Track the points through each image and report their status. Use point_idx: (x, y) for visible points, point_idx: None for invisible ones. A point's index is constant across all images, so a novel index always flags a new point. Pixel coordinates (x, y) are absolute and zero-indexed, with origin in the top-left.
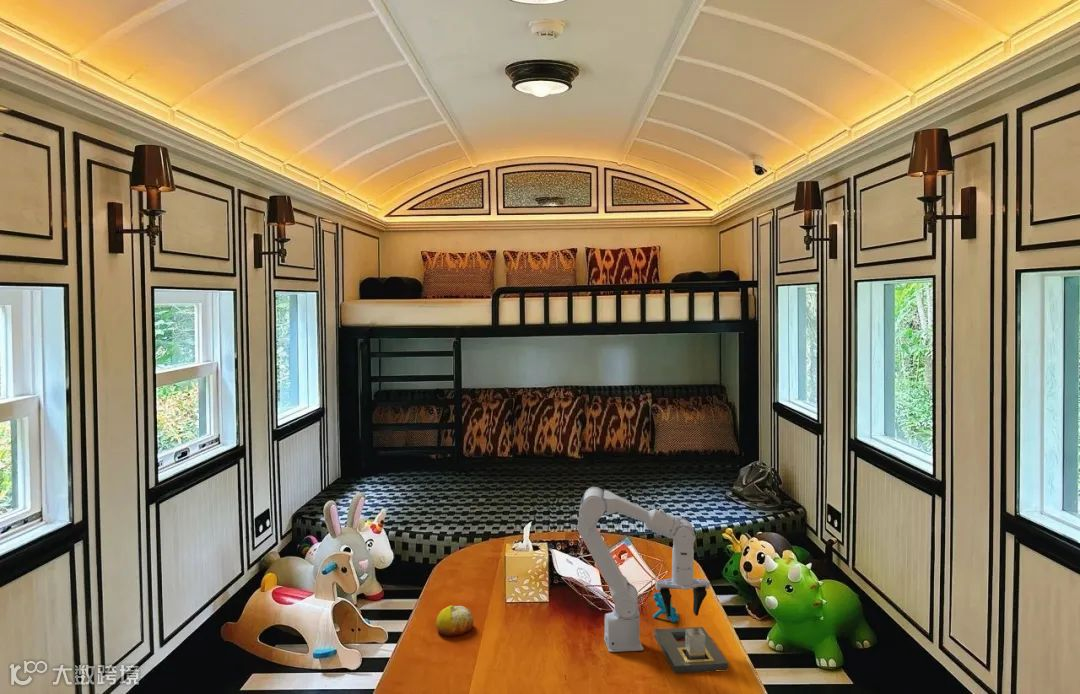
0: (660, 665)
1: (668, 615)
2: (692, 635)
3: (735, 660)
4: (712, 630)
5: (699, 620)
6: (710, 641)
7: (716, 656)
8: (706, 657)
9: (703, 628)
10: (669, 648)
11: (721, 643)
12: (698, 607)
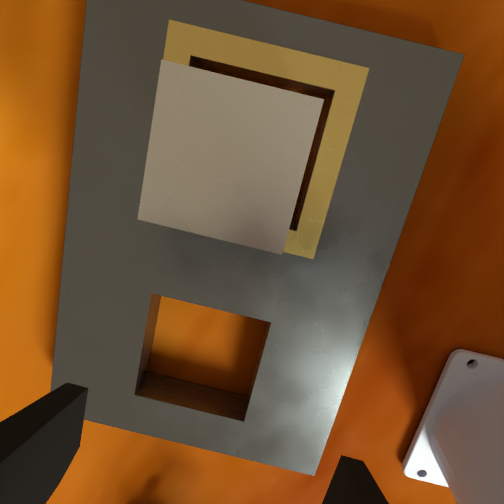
0: (460, 182)
1: (363, 467)
2: (291, 105)
3: (18, 86)
4: (7, 396)
5: None
6: (77, 260)
7: (125, 79)
8: None
9: None
10: (358, 270)
11: (16, 276)
12: (5, 433)
